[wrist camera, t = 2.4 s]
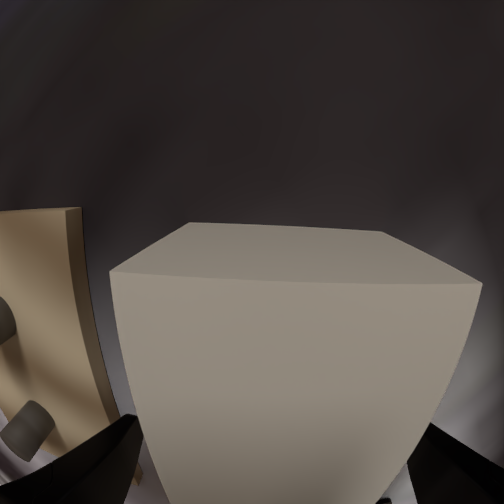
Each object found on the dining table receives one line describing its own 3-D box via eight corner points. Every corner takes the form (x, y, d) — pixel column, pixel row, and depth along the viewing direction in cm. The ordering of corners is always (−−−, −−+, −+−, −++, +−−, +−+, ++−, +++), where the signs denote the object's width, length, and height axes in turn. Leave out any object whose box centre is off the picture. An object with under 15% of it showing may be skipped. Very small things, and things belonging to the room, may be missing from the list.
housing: (323, 467, 11) (336, 545, 7) (206, 464, 12) (190, 544, 7) (381, 231, 9) (482, 283, 4) (189, 222, 9) (109, 271, 4)
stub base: (142, 473, 12) (124, 523, 8) (23, 427, 13) (-3, 460, 9) (81, 207, 9) (-2, 226, 5) (-43, 215, 9) (-95, 229, 5)
